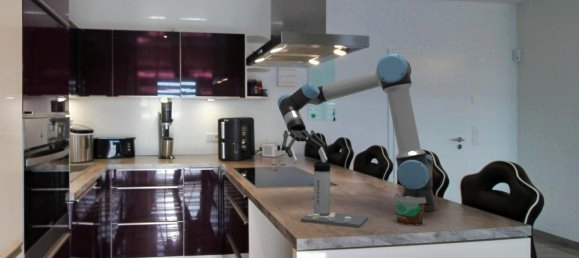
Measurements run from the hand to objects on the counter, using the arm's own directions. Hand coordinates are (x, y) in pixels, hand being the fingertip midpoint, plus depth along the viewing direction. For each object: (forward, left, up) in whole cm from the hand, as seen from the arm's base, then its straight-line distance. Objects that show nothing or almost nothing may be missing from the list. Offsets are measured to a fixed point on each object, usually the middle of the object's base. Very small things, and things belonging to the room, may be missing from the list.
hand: (310, 162), depth 173 cm
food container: (-38, +1, -21) cm, 43 cm away
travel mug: (-7, +6, -19) cm, 21 cm away
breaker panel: (-13, +8, -20) cm, 25 cm away
